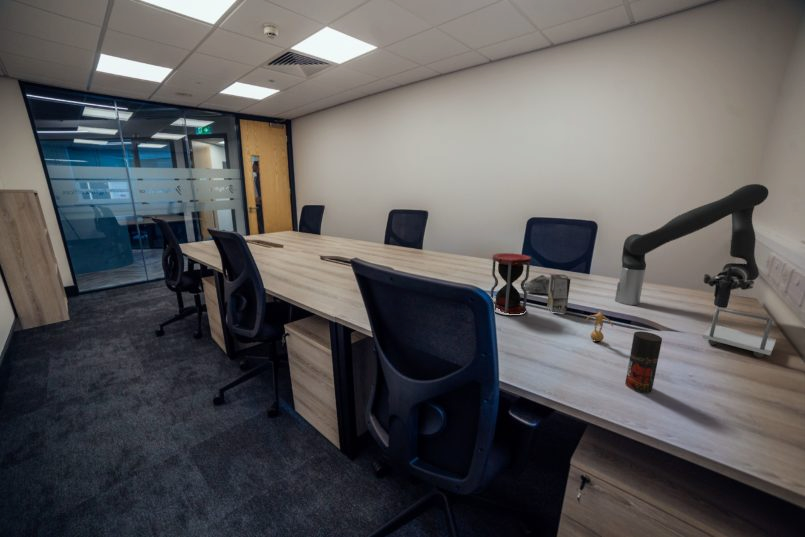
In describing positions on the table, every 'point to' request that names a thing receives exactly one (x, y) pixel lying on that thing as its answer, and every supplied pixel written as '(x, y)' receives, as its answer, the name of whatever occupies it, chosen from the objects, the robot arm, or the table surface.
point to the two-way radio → (723, 291)
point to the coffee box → (558, 293)
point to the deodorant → (643, 361)
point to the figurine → (596, 334)
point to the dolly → (741, 335)
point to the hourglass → (510, 282)
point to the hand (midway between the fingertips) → (721, 285)
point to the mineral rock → (538, 285)
